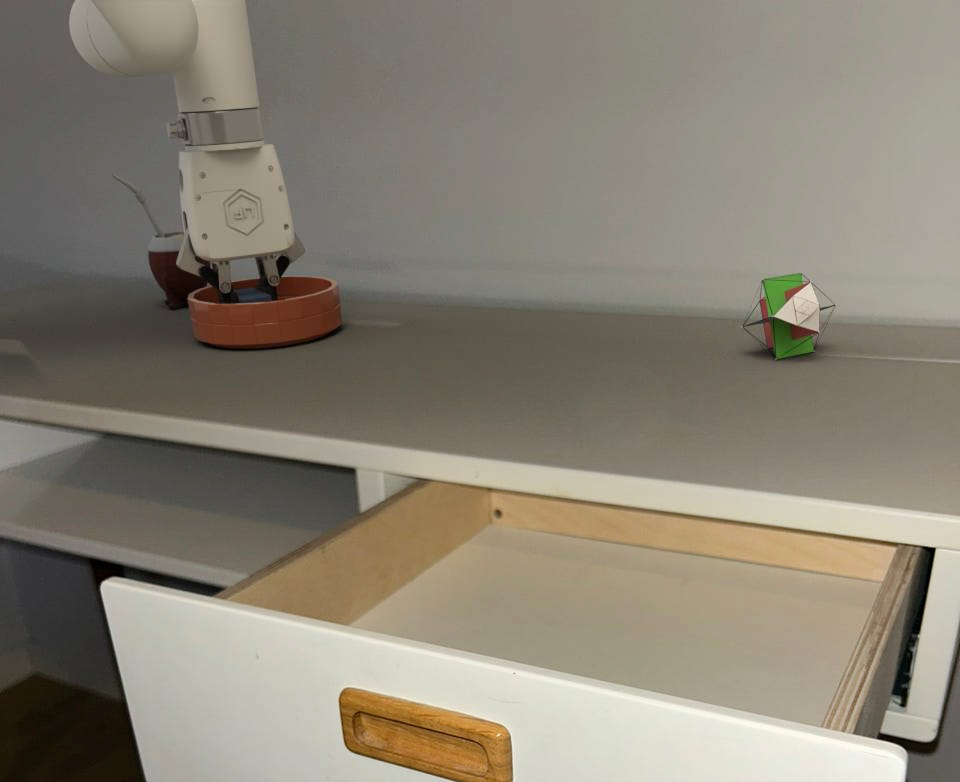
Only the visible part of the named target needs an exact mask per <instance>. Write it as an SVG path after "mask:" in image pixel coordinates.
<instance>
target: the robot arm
mask: <svg viewBox="0 0 960 782" xmlns="http://www.w3.org/2000/svg"><path fill="white" fill-rule="evenodd" d="M68 29H69V33H70V38H71V40H72V43H73V45H74V47H75V49H76V51H77V52H78V54H79V55H80V56H81V58H82V59H83V60H84V61H85V62H86V63H88V65H90V66H91V67H92V68H94V69H95V70H97V71H99V72H101V73H103V74H105V75H109V76H112V77H117V78H135V77H136V78H137V77H144V76H152V75H163V74H169V73H172V78H173V84H174V90H175V96H176V101H177V108H178V112H179V113H177V118H176V120H173V121H172V122H171V121H170V122H165V123H166V124H165V127H166V128H165V129H166V134H167V136H168V139H177V140H180V141H181V143H182V144H183V145H184V149H185V150H180V151H178V181H179V185H178V186H179V198H180V199H179V200H180V210H181V218H182V220H181V221H182V227H183V229H182V230H183V231H184V238H183V242H182V245H181V248H180V251H179V255H178V258H177V261H176V265H177V267H178V268H180V269H182V270H184V271H187V272H189V273H192V274H194V275H197V276H200V277H201V278H202V279H204V280H205V281H206V282H207V284H208V285H209V286H213V287H214V288H215V289H216V290H217V291H218V297H219V303H225V304H236V303H238V294H237V293H236V292H234V291H233V286H232V285H231V281H232V276H231V275H232V273H231V261H236V260H237V261H238V260H245V259H252V258H254V260H255V264H256V267H257V272H258V276H259V277H258V278H259V284H257V286H256V289H257V290H259V291H261V292H263V293H266V294H268V295H270V296H271V300H272V301H278V297H277V290H276V286H277V285H278V284H279V281H280V278H281V276H284V274H285V272H286V271H287V269H288V268H289V266H290V265H291V264H293V263H294V262H296V260H298V259H299V258H301V257H302V256H303V255H304V254H305V252H306V248H305V246H304V244H303V242H302V241H301V239H300V238H299V236H298V235H297V233H296V232H295V230H294V221H293V217H292V212H291V211H292V210H291V206H290V202H289V197H288V192H287V187H286V183H285V180H284V175H283V171H282V167H281V164H280V160H279V157H278V154H277V151H276V148H275V145H274V144H269V143H265V135H264V129H263V122H262V113H261V108H260V106H261V105H260V100H259V99H260V98H259V90H258V83H257V77H256V71H255V70H256V69H255V62H254V55H253V47H252V39H251V31H250V25H249V19H248V11H247V4H246V0H74V2H73V3H72V6H71V8H70V12H69V19H68ZM195 256H197V257H200V258H201V259H203V260H206V261H210V264H211V268H210V267H208V266H206V265H203V264H201V263H198V262H197V261H196V260H195Z"/></svg>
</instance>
